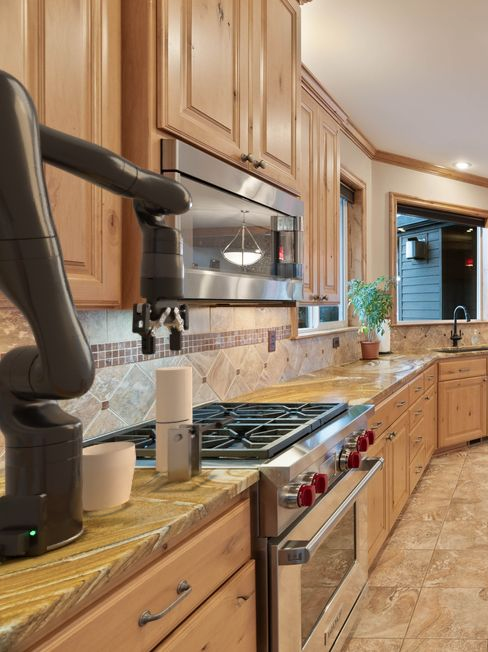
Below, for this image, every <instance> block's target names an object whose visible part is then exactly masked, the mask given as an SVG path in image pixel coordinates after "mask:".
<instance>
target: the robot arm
mask: <svg viewBox="0 0 488 652" xmlns="http://www.w3.org/2000/svg"><path fill="white" fill-rule="evenodd" d="M44 164H47V165H49V166H52V167H53V168H56V169H58V170H60V171H63V172H65V173H68V174H70V175H72V176H75V177H76V178H79V179H81V180H83V181H85V182H87V183H89V184H91V185H93V186H96V187H98V188H100V189H102V190H105V191H106V192H109V193H110V194H113V195H114V196H118V197H120V198H124V199H130V200H131V205H132V209H133V213H134V215H135V218H136V222H137V225H138V227H139V231H140V234H141V255H140V262H139V296H140V298H142V299H145V302H136V303H133V304H132V321H131V322H132V324H131V325H132V326H131V333H133V334H137V335H138V336H140V337H141V338H140V339H141V341H140V343H141V345H140V346H141V349H140V350H141V354H142V355H144V356H152V355H155V354H156V353H157V352H156V349H157V347H156V343H157V342H156V340H157V339H156V338H157V336H155V335H156V334H157V331H158V330H159V328H161V327H166V328H167V330H168V332H169V333H168V336H169V337H168V338H169V339H168V342H169V343H168V344H169V347H168V348H169V351H171V352H175V351H177V352H178V351H181V350H182V349H183V334H184V333H185V331H188V330H190V315H189V314H190V313H189V304H188V303H179V300H182V299H184V298H185V262H184V236H183V233H182V231H181V230H180V229H179V228H177V227H173V226H169V225H168V223H167V220H166V216H180V215H185V214H186V213H188V212H189V211H190V210H191V208H192V206H193V196H192V194H191V192H190V191H189V190H188V188H187V187H186V186H185V185H184V184H182V183H181V182H179V181H178V180H176V179H174V178H173V177H169V176H166V175H164V174H161V173H158V172H156V171H153V170H150V169H147V168H143V167H141V166H139V165H137V164H136V163H134V162H132V161H130V160H128V159H127V158H125V157H123V156H122V155H120V154H117V152H114V151H112V150H110V149H108V148H106V147H104V146H102V145H99V144H97V143H94V142H92V141H89V140H87V139H83V138H80V137H79V136H75V135H72V134H70V133H69V134H68V133H66V132H64V131H61V130H58V129H54V128H52V127H50V126H48V125H46V124H43V123H41V122H39V115H38V111H37V106H36V104H35V101H34V99H33V97H32V95H31V94H30V92H29V90H28V89H27V87H26V86H25V85H24V84H23V83H22V82H21V81H20V80H19V79H18V78H17V77H15V76H14V75H12V74H11V73H9V72H7V71H5V70H4V69H0V294H2V295H3V296H4V297H5V299H7V300H8V301H9V302H10V303H11V304H12V305H13V306H14V308H16V309H17V311H18V312H19V313H20V314H21V315H22V316H23V318H24V319H25V321H26V322H27V324H28V326H29V328H30V331H31V332H32V335H33V337H34V341H35V344H26V345H19V346H16V347H14V348H12V349H10V350H8V351H7V352H6V353H5V354H3V355H2V357H1V358H0V432H1V434H2V435H3V439H4V495H3V494H2V495H1V496H0V562H3V561H5V560H6V558H7V557H29V556H31V557H32V556H40V555H43V554H45V553H47V552H49V551H53V550H55V549H58V548H61V547H64V546H66V545H69V544H71V543H73V542H75V541H76V540H78V539H80V538H81V537H82V536H83V535H84V530H85V529H84V525H83V524H84V521H83V520H84V510H83V448H84V435H83V434H84V431H83V430H84V426H83V421H82V420H81V419H80V418H79V417H77V416H75V415H73V414H71V413H68V412H66V411H65V410H64V409H62V407H61V406H60V405H59V403H58V402H59V401H69V400H75V399H79V398H81V397H83V396H84V395H86V394H87V393H88V392H89V391H90V390H91V388H92V386H93V385H94V382H95V379H96V362H95V358H94V354H93V351H92V348H91V345H90V342H89V340H88V338H87V334H86V332H85V330H84V327H83V324H82V321H81V318H80V316H79V313H78V311H77V307H76V304H75V300H74V296H73V292H72V289H71V286H70V283H69V278H68V274H67V270H66V264H65V258H64V254H63V249H62V245H61V240H60V237H59V233H58V229H57V226H56V223H55V219H54V213H53V209H52V203H51V200H50V194H49V189H48V185H47V180H46V177H45V169H44ZM140 324H141V326H140Z"/></svg>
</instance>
